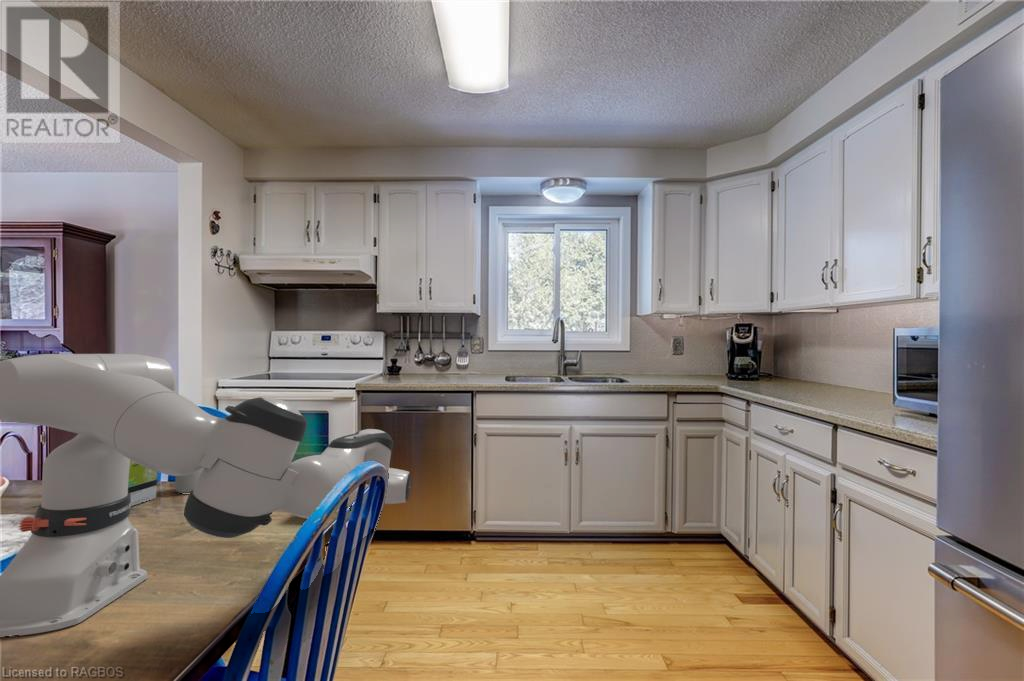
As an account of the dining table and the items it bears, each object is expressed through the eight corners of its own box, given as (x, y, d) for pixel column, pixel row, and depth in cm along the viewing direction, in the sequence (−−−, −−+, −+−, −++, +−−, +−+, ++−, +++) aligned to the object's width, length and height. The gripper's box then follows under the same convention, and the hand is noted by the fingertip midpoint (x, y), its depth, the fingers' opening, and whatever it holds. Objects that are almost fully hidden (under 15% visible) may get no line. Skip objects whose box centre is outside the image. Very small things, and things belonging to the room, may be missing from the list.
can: (195, 495, 130) (197, 450, 130) (168, 494, 130) (170, 449, 130) (213, 487, 137) (215, 445, 137) (187, 486, 137) (189, 444, 137)
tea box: (100, 518, 112) (103, 454, 112) (64, 514, 113) (67, 451, 113) (158, 498, 126) (160, 442, 127) (125, 495, 128) (127, 439, 128)
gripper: (328, 509, 112) (272, 505, 113) (365, 484, 132) (317, 481, 133) (328, 481, 112) (273, 478, 113) (366, 461, 132) (318, 458, 134)
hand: (297, 480), depth 124 cm, fingers closed
